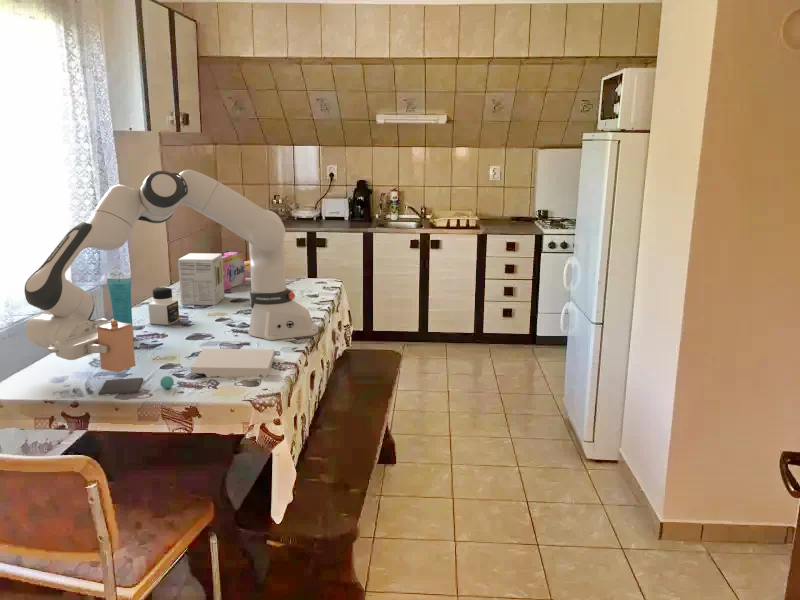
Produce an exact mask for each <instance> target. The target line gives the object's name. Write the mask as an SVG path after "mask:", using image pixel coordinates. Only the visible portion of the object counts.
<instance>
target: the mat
mask: <svg viewBox="0 0 800 600" xmlns="http://www.w3.org/2000/svg"><path fill="white" fill-rule="evenodd" d="M143 382H144V377H135V378H134V377H133V378H132V377H131V378H118V379H117V378H116V379H106V380H105V381H104V383H103V384H102V387H101V389H100V390H99V392H98V396H106V395H105V394H110V395H117V394H116V393H124V394H137V393H138V392H139V391H140V388H141V387H142V383H143Z"/></svg>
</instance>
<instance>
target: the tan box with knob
mask: <svg viewBox="0 0 800 600" xmlns="http://www.w3.org/2000/svg"><path fill="white" fill-rule="evenodd" d="M110 322H111V323H108V324H105V325H101V326H98V327H97V331H98V341H99V345H103V344H107V345H109V346H110V351H109V352H107V353H99V359H100V369H101V370H104V371H109V372H114V373H120V372H122V371H125V370H128V369H131V368H134V367H135V366H136V360H135V359H136V357H135V347H134V338H133V333H134V331H133V332H132V325H133V323H132V324H129V323H122V322H118V320H114V319H112V320H110Z"/></svg>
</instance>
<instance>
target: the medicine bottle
mask: <svg viewBox="0 0 800 600" xmlns="http://www.w3.org/2000/svg"><path fill="white" fill-rule="evenodd" d="M172 290H173V289H172V288H171V287H168V286H158V287H155V288H153V290H152V298H153V301H151V302H149V303H148V305H147V306H148V318H149V323H150V325H159V326H170V325H172V324H173V323H176V322H178V321H180V311H179V310H180V308H179V301H178V299H173V291H172Z"/></svg>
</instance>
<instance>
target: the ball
mask: <svg viewBox="0 0 800 600" xmlns="http://www.w3.org/2000/svg"><path fill="white" fill-rule="evenodd" d="M174 381H175V380H174V378H173V377H172V376H170V375H165V376H163V377H162V378H161V379H160V385H161V387H162V388H163V389H166V390H167V389H168V390H169V389H170V388H172V387H173V386H174V384H175V382H174Z"/></svg>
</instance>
